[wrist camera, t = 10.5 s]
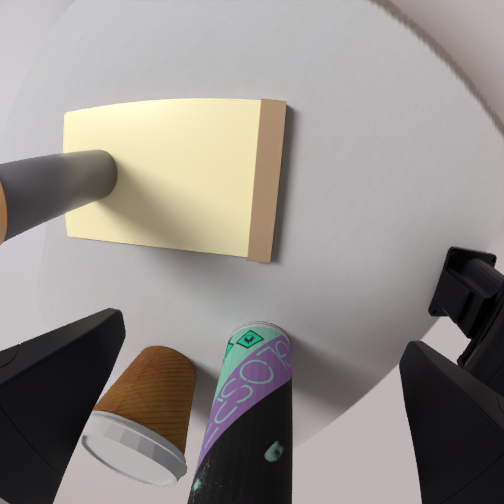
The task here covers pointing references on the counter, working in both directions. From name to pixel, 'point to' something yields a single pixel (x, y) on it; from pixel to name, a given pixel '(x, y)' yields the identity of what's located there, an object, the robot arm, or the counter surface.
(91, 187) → the ball
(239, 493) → the spray can
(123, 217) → the legal pad
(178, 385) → the disposable coffee cup
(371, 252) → the counter surface
